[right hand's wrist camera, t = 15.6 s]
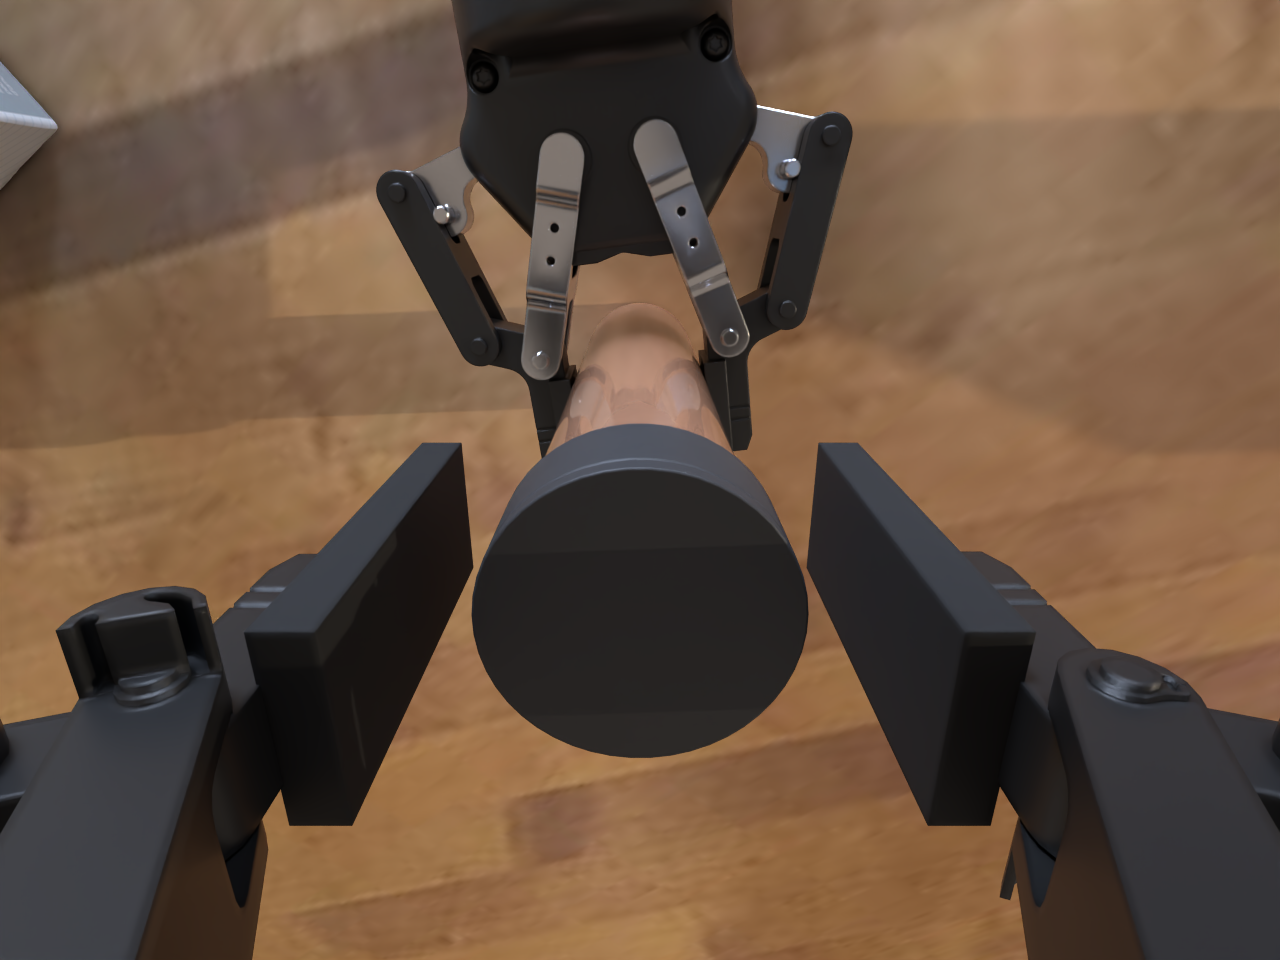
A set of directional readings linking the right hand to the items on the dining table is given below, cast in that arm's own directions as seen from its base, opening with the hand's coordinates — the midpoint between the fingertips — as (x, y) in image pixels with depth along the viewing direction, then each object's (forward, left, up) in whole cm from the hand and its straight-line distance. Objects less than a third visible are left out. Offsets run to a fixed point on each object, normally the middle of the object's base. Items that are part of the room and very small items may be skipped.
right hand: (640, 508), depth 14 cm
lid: (0, 0, +4) cm, 4 cm away
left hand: (+3, 0, -10) cm, 10 cm away
